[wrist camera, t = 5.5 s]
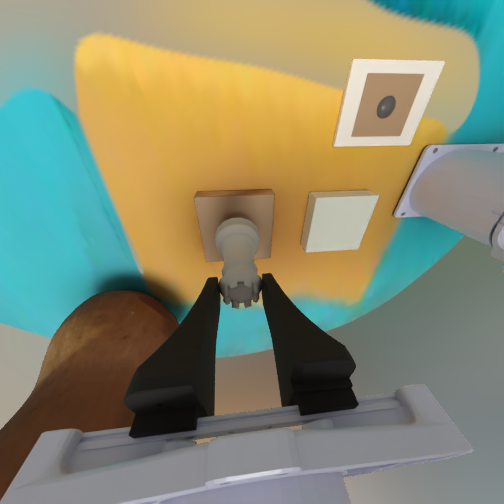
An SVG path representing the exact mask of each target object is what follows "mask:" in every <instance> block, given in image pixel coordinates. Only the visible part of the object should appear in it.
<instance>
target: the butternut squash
mask: <svg viewBox="0 0 504 504" xmlns="http://www.w3.org/2000/svg"><path fill="white" fill-rule="evenodd" d="M178 326H179V323H178V321H177V319H176V317H175V316H174V314H173V313H172V312H171V311H170V310H169V309H167V308H166V307H165V306H163V305H162V304H161V303H160V302H158V301H157V300H156V299H155V298H153V297H152V296H150V295H148V294H146V293H143V292H140V291H130V290H114V291H106V292H102V293H99V294H96V295H94V296H92V297H90V298H89V299H87V300H86V301H84V302H83V303H82V304H81V305H79V306H78V307H77V308H76V309H75V310H74V311H73V312H72V313H71V314H70V315H69V316H68V317H67V318H66V319H65V320H64V322H63V323H62V324H61V326H60V327H59V328H58V330H57V331H56V333H55V334H54V336H53V338H52V340H51V342H50V345H49V347H48V349H47V352H46V355H45V358H44V361H43V363H42V367H41V371H40V374H39V377H38V380H37V383H36V385H35V388H34V390H33V391H32V393H31V395H30V396H29V398H28V399H27V400H26V402H25V403H24V404H23V405H22V407H21V408H20V409H19V410H18V411H17V412H16V414H15V415H14V416H13V417H12V418H11V419H10V420H9V421H8V422H7V423H6V424H5V426H4V427H3V428H2V429H1V430H0V501H1V499H2V498H3V496H4V494H5V493H6V491H7V490H8V488H9V486H10V485H11V483H12V481H13V480H14V478H15V476H16V475H17V473H18V472H19V470H20V468H21V467H22V465H23V463H24V462H25V460H26V459H27V457H28V455H29V454H30V452H31V450H32V449H33V447H34V446H35V444H36V442H37V441H38V439H39V437H40V436H41V434H42V433H44V432H46V431H54V430H62V429H78V430H80V431H82V432H83V433H87V432H94V431H102V430H110V429H117V428H125V427H131V426H132V423H133V420H134V417H135V413H134V412H132V411H131V410H130V409H129V408H127V407H126V406H125V404H124V403H123V399H124V396H125V394H126V391H127V389H128V386H129V384H130V381H131V379H132V377H133V375H134V373H135V371H136V369H137V368H138V367H139V366H140V365H141V364H142V363H143V362H144V361H145V360H146V359H148V358H149V357H150V356H151V355H152V354H153V353H154V352H155V351H156V350H157V349H158V348H159V347H160V346H161V345H162V344H163V343H164V342H165V341H166V340H167V339H168V338H169V337H170V336H171V334H172V333H173V332H174V331H175V330H176V329H177V327H178Z"/></svg>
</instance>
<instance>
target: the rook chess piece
mask: <svg viewBox="0 0 504 504" xmlns="http://www.w3.org/2000/svg"><path fill="white" fill-rule="evenodd" d="M215 238H216V239H215V241H216V247H217V250H218V251H219V253H220V254H221V255H222V256H223V258H224V263H225V265H224V267H223V269H222V276H223V277H222V278H221V279H220V281H219V283H218V289H219V292H220V293H221V294H222V296H223V297H224V299H223V301H224V302H225V303H226V305H227V304H229V303H230V301H231V302H232V308H238V309H239V303H244V306H245V308H247V307H250V306H252V305H251V300H253V302H256V303H257V301H258V300H259V294H260V291H261V290H262V288H263V281H262V279H261V277H260V276H259V275H257V267H256V265H255V263H254V255H255V253H256V251H257V250H258V248H259V242H260V237H259V231H258V229H257V227H256V225H255V224H253V223H252V222H251V221H250V220H247V219H244V218H231V219H228V220H226V221H224V222H223V223H222V224H221V225H220V226H219V227H218V228H217V231H216V234H215Z"/></svg>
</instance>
